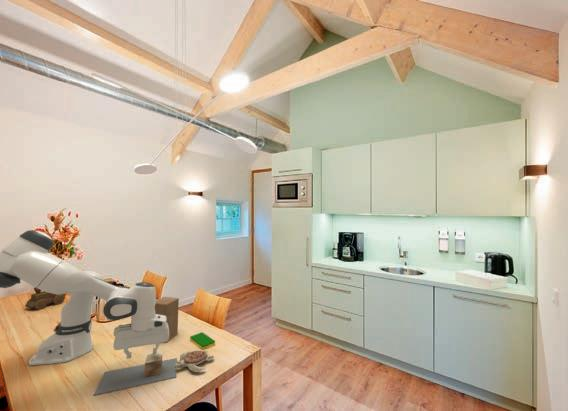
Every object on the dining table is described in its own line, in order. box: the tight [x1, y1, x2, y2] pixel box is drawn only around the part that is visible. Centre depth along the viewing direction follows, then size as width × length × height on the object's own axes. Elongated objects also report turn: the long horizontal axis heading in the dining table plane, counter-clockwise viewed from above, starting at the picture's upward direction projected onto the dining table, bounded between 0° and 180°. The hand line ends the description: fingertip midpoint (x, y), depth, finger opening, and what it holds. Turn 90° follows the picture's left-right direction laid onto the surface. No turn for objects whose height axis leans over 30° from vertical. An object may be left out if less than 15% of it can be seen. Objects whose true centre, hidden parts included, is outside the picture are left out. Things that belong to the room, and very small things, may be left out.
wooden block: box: [155, 296, 180, 344], centre depth 133 cm, size 10×10×20 cm
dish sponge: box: [189, 331, 216, 351], centre depth 128 cm, size 7×14×2 cm, turn 46°
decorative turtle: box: [175, 350, 215, 373], centre depth 109 cm, size 18×17×5 cm
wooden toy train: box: [24, 287, 66, 311], centre depth 175 cm, size 20×11×17 cm, turn 161°
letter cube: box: [144, 351, 163, 378], centre depth 103 cm, size 6×6×6 cm
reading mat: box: [93, 357, 178, 397], centre depth 101 cm, size 28×14×1 cm, turn 113°
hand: (142, 355), depth 102 cm, fingers open, 8 cm apart
